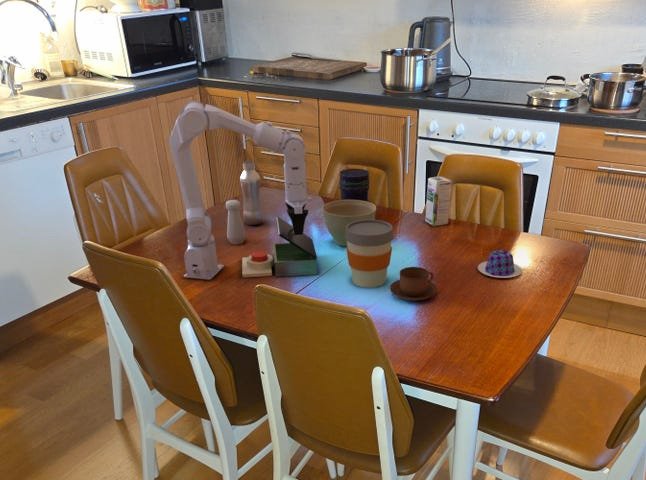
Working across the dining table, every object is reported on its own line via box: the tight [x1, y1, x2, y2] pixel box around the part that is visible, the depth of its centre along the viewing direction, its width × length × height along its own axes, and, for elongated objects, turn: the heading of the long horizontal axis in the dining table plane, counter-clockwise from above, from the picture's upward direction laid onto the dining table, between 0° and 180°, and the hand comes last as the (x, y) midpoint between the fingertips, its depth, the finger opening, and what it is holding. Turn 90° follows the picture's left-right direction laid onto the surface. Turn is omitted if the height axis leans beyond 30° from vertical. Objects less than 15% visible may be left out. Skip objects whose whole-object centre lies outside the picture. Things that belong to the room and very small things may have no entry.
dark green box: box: [272, 241, 318, 278], centre depth 181 cm, size 11×14×4 cm
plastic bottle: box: [239, 160, 264, 226], centre depth 208 cm, size 6×7×20 cm
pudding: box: [477, 249, 523, 279], centre depth 177 cm, size 12×12×5 cm
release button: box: [250, 250, 268, 262], centre depth 180 cm, size 4×4×2 cm
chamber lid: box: [275, 215, 318, 260], centre depth 178 cm, size 12×14×4 cm
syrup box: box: [424, 176, 452, 227], centre depth 209 cm, size 6×6×14 cm
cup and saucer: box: [389, 266, 438, 302], centre depth 164 cm, size 12×12×6 cm
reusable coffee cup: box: [345, 219, 394, 289], centre depth 170 cm, size 13×13×15 cm
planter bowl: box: [322, 199, 377, 247], centre depth 195 cm, size 16×16×11 cm
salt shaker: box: [225, 199, 247, 245], centre depth 195 cm, size 6×6×13 cm
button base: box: [241, 253, 274, 278], centre depth 181 cm, size 9×12×3 cm
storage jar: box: [338, 168, 370, 203], centre depth 214 cm, size 10×10×15 cm
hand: (298, 231), depth 177 cm, fingers closed on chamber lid, 5 cm apart
